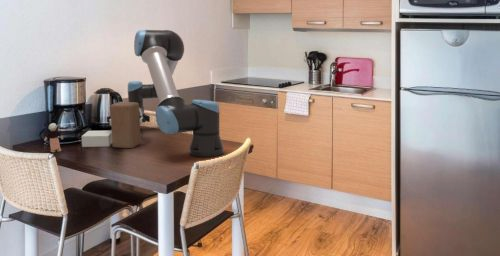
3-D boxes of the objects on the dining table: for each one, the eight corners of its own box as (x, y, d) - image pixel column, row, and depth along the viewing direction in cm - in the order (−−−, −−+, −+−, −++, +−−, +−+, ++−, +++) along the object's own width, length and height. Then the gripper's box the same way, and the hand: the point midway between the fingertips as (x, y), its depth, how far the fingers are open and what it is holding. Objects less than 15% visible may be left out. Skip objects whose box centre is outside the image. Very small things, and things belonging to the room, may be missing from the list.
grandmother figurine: (61, 149, 202) (59, 121, 200) (65, 150, 200) (62, 122, 197) (44, 152, 197) (41, 123, 194) (47, 153, 194) (44, 125, 192)
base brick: (108, 146, 207) (108, 136, 206) (82, 146, 206) (81, 136, 205) (114, 140, 219) (113, 130, 218) (88, 140, 218) (88, 130, 217)
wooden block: (132, 149, 203) (129, 105, 199) (111, 147, 205) (109, 104, 201) (141, 143, 213) (139, 102, 208) (122, 142, 215) (119, 101, 210)
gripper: (158, 121, 230) (153, 129, 210) (108, 121, 228) (98, 130, 208) (157, 106, 229) (152, 114, 208) (107, 107, 227) (97, 114, 206)
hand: (125, 122), depth 208 cm, fingers open, 13 cm apart
